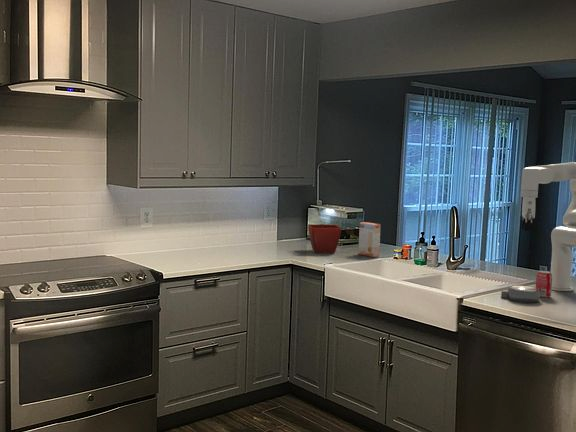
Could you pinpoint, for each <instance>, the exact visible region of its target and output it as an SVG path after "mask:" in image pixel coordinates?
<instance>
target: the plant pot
mask: <svg viewBox="0 0 576 432" xmlns="http://www.w3.org/2000/svg"><path fill="white" fill-rule="evenodd" d="M307 227H308V236H309V239H310V240H309V241H310V245H311V248H312V251H313V252H314V253H317V254H318V253H319V254H321V253H324V254H335V253H336V250H337V247H338V244H339V240H340V237H341V234H342V233H341V232H342V227H341V226H339V225H337V224H308V226H307Z"/></svg>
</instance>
